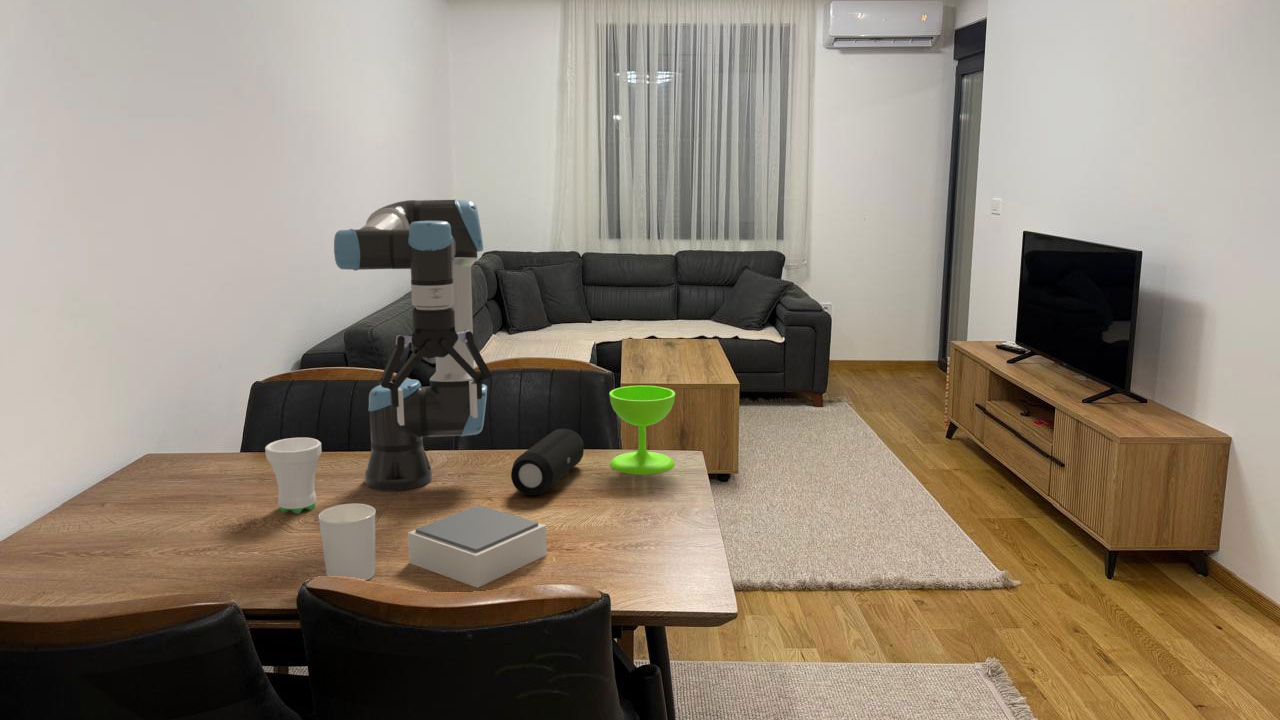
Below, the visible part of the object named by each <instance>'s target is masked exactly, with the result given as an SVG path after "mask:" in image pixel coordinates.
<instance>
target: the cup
mask: <svg viewBox="0 0 1280 720" xmlns="http://www.w3.org/2000/svg"><path fill="white" fill-rule="evenodd" d="M264 450H265V457H266V460H267V461H268V462H269V464H270V466H271V467H272V470H273V473H274V476H275V479H276V483H277V489H278V497H277V502H278V503H277V504H278V506H279V509H280V511H281V512H282V513H289V511H292V513H294V514H297V515H299V514H300V513H302V511H303V510H304V509H305V510H307V511H312V510H314V509H315V506H316V503H317V493H316V491H315V478H316V477H315V476H316V469H317V465H318V461H319V458H320V456H322V442H321V441H320V440H318V439H317V438H316V439H315V438H312V437H291V438H284V439H283V438H282V439H279V440H275V441H273V442H270V443H268V444H267V445H266V446H265V447H264Z"/></svg>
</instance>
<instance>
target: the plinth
mask: <svg viewBox="0 0 1280 720" xmlns="http://www.w3.org/2000/svg"><path fill="white" fill-rule="evenodd" d="M407 543H408V544H407V545H408V564H411V565H413V566H416V567H420V568H422V569H425V570H428V571H430V572H433V573H436V574H439V575H440V576H444V577H447V578H449V579H453V580H455V581H457V582H461V583H463V584H466V585H468V586H471V587H474V588H476V589H478V588H481V587H483V586H484V585H487V584H488V583H491V582H493V581H495V580H497V579H499V578H501V577H504V576H506V575H508V574H510V573H512V572H514V571H516V570H518V568H519V569H521V568H523V567H524V566H525V567H526V566H527V565H529V564H532V563H533V562H535V561H538V560H540V559H541V558H544V557H546V556H547V551H548V550H547V525H546V524H543V523H539V522H538V521H537V522H536V521H534V520H530V519H527V518H523V517H520V516H518V515H517V516H516V515H513V514H510V513H507V512H503V511H501V510H500V511H499V510H497V509H493V508H491V507H487V506H482V505H480V504H478V505H475V506H472V507H470V508H468V509H467V508H466V509H465V510H462V511H458V512H456V513H455V514H451V515H449V516H446V517H444V518H441V519H439V520H436V521H433V522H430V523H428V524H425V525H423V526H420V527H417V528H415V529H413V530H411V531H408V532H407Z"/></svg>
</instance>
